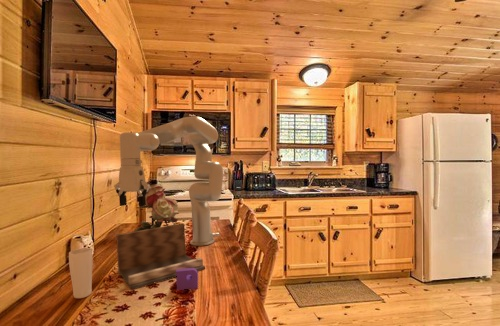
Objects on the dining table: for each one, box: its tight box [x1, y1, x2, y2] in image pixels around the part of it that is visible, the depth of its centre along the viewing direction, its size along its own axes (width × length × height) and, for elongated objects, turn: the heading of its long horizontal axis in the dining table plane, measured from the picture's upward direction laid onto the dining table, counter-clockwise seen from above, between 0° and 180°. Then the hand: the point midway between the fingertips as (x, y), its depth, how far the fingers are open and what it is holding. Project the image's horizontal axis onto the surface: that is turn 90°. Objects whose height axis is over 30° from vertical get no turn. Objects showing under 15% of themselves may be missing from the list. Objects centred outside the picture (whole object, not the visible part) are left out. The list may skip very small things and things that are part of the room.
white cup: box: [68, 247, 94, 299], centre depth 98 cm, size 7×7×15 cm
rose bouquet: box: [133, 183, 180, 232], centre depth 181 cm, size 26×29×30 cm
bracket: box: [176, 268, 199, 291], centre depth 105 cm, size 12×7×7 cm, turn 10°
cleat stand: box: [116, 222, 206, 290], centre depth 118 cm, size 28×21×15 cm
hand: (132, 205), depth 119 cm, fingers open, 9 cm apart
